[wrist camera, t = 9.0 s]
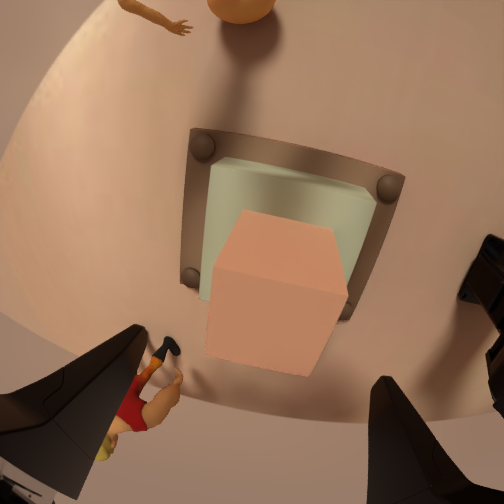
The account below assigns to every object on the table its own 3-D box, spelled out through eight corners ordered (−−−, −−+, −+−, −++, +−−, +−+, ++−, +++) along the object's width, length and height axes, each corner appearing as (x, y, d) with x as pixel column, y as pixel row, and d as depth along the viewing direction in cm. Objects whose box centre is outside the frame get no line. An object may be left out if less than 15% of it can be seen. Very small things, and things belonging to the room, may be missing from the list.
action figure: (122, 338, 29) (60, 442, 16) (117, 316, 27) (43, 425, 14) (199, 361, 28) (153, 486, 15) (199, 340, 27) (144, 477, 14)
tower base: (400, 173, 16) (423, 189, 13) (348, 312, 22) (353, 347, 19) (195, 127, 17) (170, 133, 14) (184, 276, 23) (165, 306, 20)
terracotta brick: (332, 229, 15) (348, 295, 10) (309, 300, 17) (308, 376, 12) (243, 209, 15) (213, 266, 10) (231, 283, 18) (204, 354, 12)
